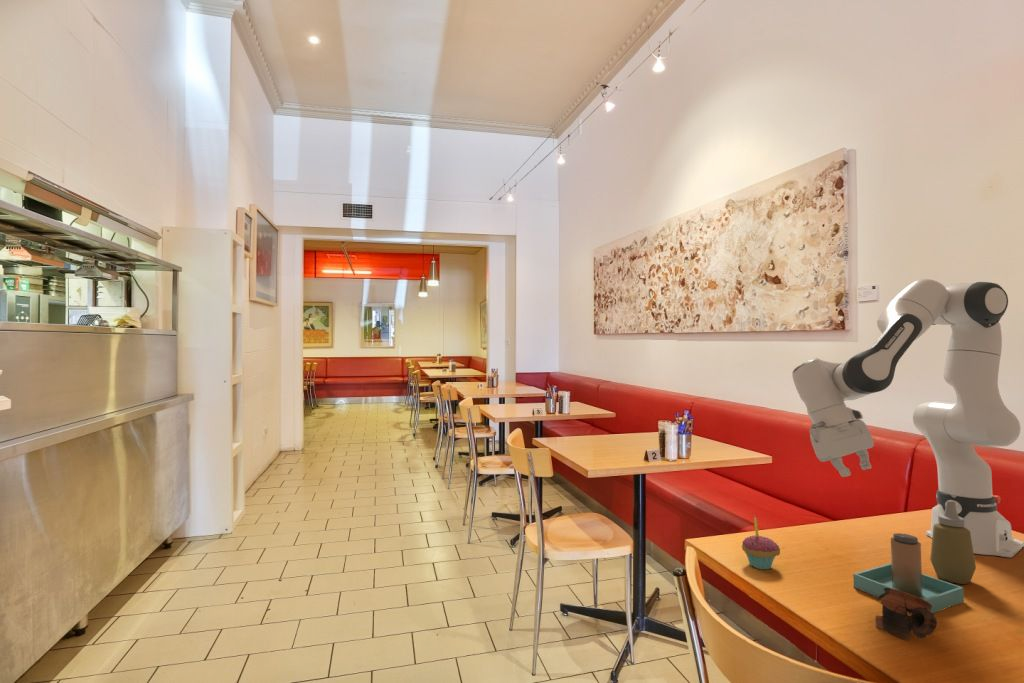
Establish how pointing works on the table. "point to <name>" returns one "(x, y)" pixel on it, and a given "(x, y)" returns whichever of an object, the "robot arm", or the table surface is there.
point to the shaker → (906, 564)
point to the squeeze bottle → (952, 548)
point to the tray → (881, 577)
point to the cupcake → (760, 550)
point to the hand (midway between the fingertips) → (857, 472)
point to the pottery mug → (905, 615)
